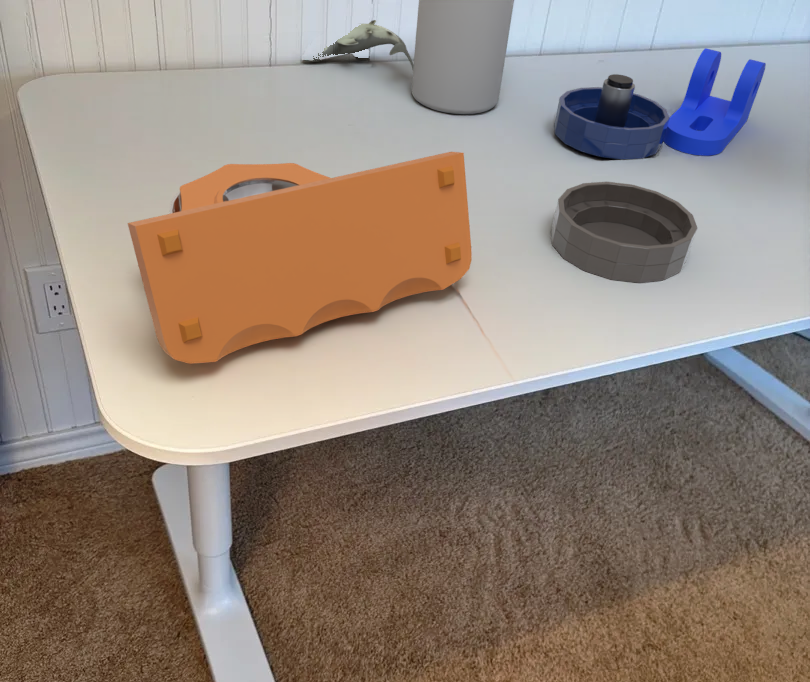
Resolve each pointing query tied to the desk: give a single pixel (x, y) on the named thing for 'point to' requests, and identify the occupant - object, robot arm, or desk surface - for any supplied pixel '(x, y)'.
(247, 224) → the desk clock
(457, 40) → the cylinder vase
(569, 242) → the grey bowl
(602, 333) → the desk surface
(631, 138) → the blue bowl
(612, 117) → the shaker
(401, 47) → the grey-green dolphin figure
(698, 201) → the desk surface
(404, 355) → the desk surface
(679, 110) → the bracket
